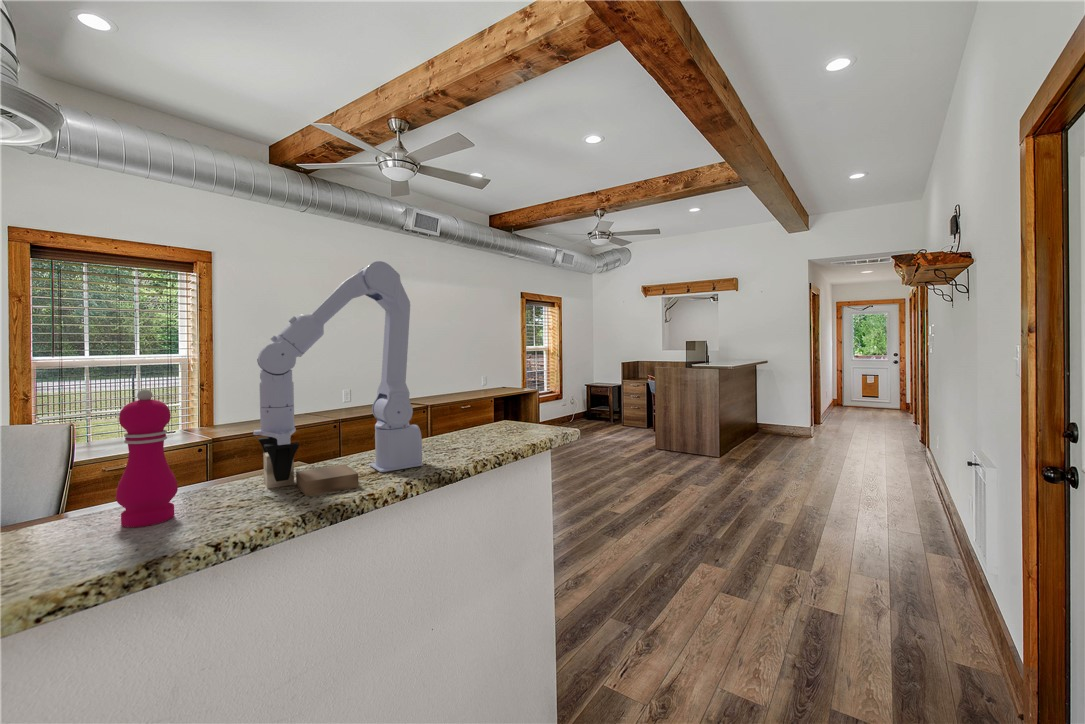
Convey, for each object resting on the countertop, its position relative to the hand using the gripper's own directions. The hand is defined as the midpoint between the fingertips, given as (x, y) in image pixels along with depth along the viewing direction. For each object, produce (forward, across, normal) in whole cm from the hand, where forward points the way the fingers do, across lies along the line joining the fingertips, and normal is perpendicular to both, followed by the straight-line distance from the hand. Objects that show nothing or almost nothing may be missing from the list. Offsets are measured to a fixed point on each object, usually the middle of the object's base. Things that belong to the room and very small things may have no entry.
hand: (278, 476), depth 92 cm
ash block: (+2, 0, 0) cm, 2 cm away
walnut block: (+2, +8, +7) cm, 10 cm away
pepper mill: (+2, +10, -19) cm, 22 cm away
